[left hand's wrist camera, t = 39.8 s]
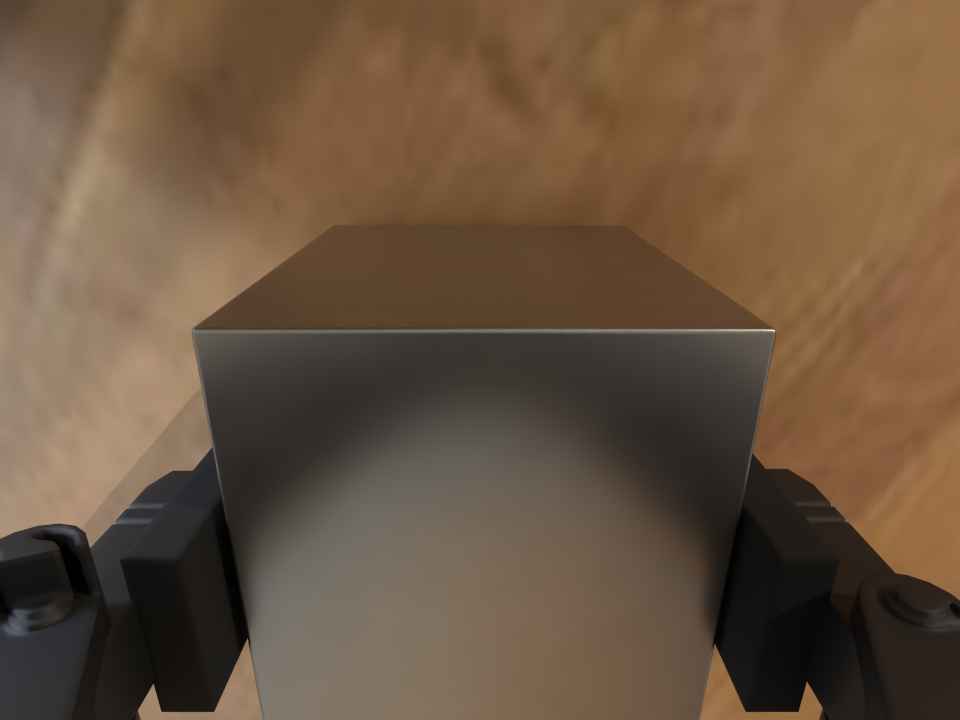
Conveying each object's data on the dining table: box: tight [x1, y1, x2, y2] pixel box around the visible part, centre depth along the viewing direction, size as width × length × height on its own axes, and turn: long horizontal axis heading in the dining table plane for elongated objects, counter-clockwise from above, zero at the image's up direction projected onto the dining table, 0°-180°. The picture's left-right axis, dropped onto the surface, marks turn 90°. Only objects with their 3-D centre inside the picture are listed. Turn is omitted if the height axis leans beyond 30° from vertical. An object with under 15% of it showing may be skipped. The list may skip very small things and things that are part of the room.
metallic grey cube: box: [192, 225, 776, 720], centre depth 13 cm, size 7×8×8 cm
